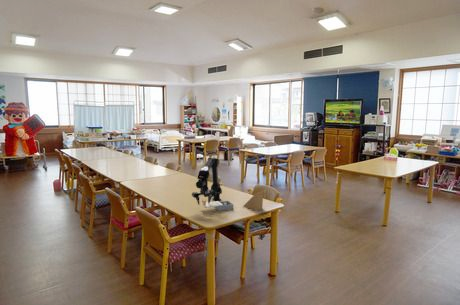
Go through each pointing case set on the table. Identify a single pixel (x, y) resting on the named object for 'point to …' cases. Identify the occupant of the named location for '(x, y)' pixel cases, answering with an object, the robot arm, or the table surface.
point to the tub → (224, 206)
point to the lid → (211, 203)
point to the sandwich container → (255, 202)
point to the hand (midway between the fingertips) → (203, 204)
